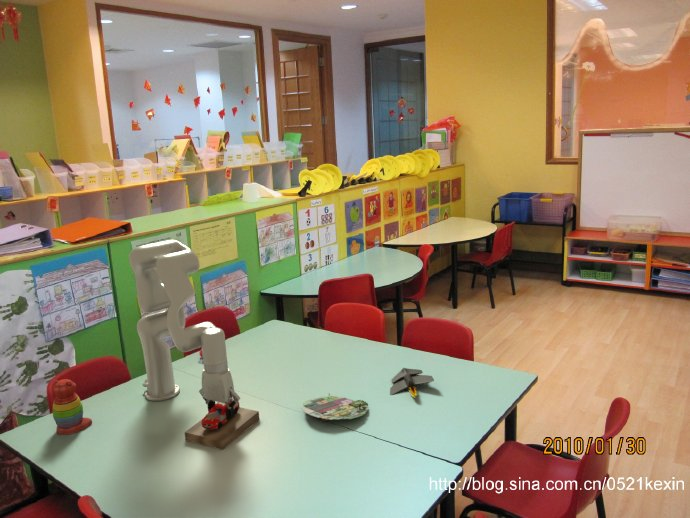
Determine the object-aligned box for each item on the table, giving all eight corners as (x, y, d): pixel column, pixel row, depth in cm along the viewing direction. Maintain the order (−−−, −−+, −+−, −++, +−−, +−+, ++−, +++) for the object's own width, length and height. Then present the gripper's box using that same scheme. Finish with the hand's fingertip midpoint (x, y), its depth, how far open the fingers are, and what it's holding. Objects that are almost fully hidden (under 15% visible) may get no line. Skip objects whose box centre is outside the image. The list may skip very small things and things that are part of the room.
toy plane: (440, 394, 203) (436, 380, 202) (394, 409, 203) (390, 395, 202) (425, 367, 228) (421, 355, 227) (384, 380, 228) (380, 369, 227)
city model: (383, 407, 205) (382, 391, 204) (355, 433, 184) (355, 415, 183) (320, 398, 216) (320, 382, 215) (288, 421, 195) (287, 404, 194)
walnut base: (185, 440, 187) (184, 432, 186) (224, 411, 204) (223, 403, 203) (222, 449, 180) (221, 441, 179) (259, 419, 197) (258, 411, 196)
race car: (215, 433, 182) (213, 419, 181) (198, 429, 185) (196, 416, 184) (243, 408, 197) (242, 395, 196) (227, 405, 199) (225, 392, 198)
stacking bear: (95, 422, 202) (87, 374, 198) (73, 437, 193) (64, 388, 188) (70, 418, 205) (62, 372, 201) (48, 433, 196) (38, 384, 192)
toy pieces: (189, 362, 248) (188, 353, 247) (208, 353, 258) (207, 344, 257) (210, 367, 242) (209, 358, 241) (228, 357, 251) (227, 348, 250)
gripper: (187, 366, 187) (193, 416, 191) (230, 374, 179) (236, 426, 184) (202, 357, 194) (208, 406, 198) (244, 365, 186) (249, 415, 190)
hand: (221, 415), depth 191 cm, fingers closed on race car, 6 cm apart
